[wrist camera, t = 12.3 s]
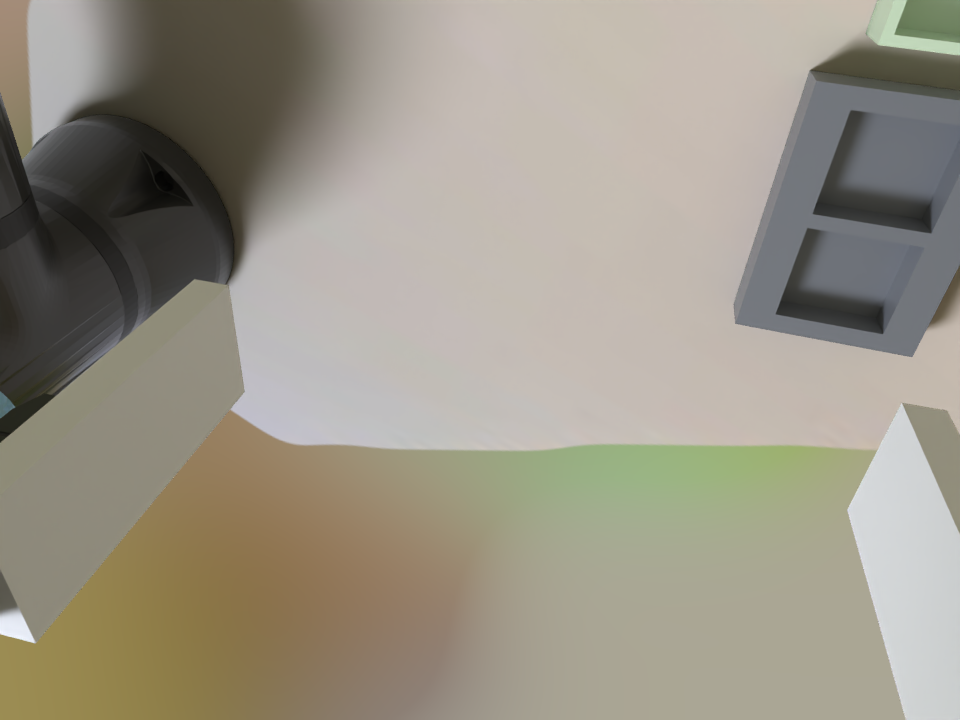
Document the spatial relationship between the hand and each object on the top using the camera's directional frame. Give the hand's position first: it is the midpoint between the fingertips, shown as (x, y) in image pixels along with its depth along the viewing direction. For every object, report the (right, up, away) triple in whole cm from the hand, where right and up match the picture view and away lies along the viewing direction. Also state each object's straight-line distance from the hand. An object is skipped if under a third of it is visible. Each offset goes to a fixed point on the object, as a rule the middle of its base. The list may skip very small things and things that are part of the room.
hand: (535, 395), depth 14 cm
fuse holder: (+20, +9, +26) cm, 34 cm away
